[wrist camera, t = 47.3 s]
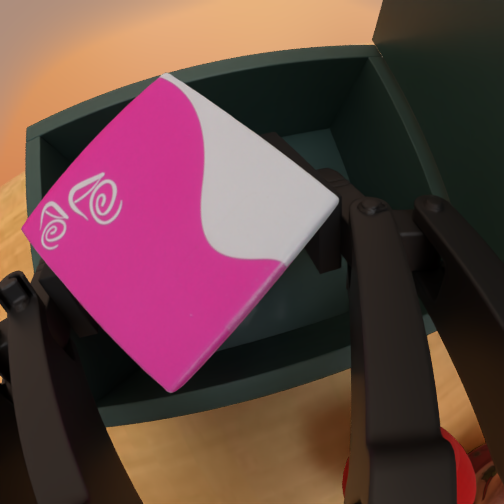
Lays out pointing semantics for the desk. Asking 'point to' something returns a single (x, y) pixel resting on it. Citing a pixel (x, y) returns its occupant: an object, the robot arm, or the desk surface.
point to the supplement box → (175, 227)
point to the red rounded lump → (463, 471)
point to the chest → (302, 267)
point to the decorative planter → (486, 477)
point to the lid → (455, 96)
